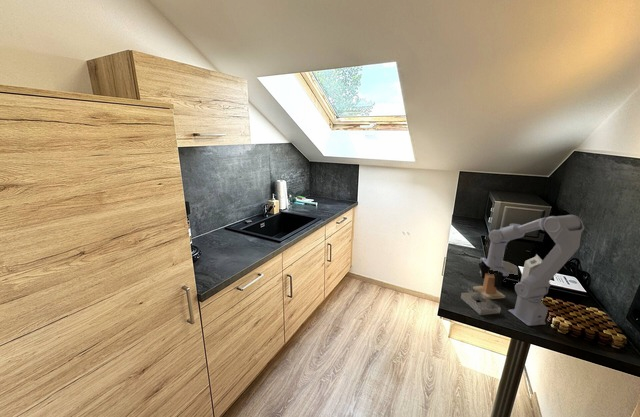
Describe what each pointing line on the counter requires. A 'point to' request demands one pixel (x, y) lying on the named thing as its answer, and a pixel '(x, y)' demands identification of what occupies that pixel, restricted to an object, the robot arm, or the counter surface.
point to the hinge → (507, 268)
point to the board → (488, 295)
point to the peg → (489, 283)
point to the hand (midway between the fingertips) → (490, 282)
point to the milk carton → (531, 266)
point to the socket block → (484, 306)
